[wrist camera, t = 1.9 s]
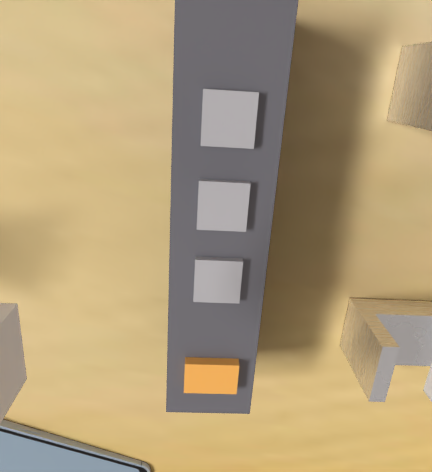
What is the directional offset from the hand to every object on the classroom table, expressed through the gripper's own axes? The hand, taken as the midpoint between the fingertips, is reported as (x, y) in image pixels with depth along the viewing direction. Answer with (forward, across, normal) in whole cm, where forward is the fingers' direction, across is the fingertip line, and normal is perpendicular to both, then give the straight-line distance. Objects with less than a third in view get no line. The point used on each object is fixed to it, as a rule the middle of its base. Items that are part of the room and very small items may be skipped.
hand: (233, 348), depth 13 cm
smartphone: (+15, -12, -23) cm, 30 cm away
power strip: (+14, 0, 0) cm, 14 cm away
